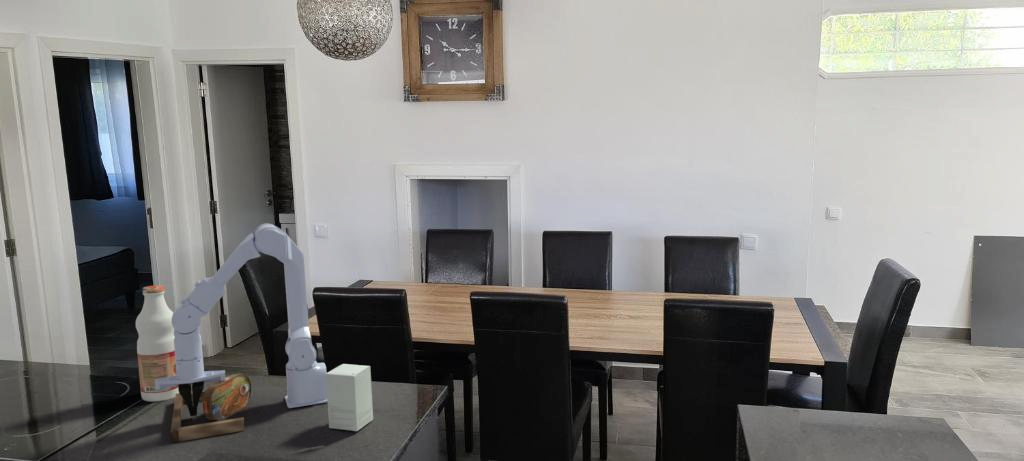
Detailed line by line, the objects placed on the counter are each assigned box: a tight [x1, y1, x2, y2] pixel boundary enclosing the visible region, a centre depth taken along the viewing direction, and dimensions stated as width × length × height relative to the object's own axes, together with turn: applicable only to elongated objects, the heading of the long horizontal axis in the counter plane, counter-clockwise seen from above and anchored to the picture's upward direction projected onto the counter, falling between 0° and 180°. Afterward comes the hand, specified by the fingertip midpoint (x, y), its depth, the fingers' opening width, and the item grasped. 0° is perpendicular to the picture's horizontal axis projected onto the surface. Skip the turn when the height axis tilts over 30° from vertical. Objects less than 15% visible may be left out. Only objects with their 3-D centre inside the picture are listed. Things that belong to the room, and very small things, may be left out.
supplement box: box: [326, 363, 374, 432], centre depth 155 cm, size 7×7×13 cm
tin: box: [201, 373, 252, 421], centre depth 163 cm, size 15×3×8 cm, turn 166°
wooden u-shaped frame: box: [170, 388, 246, 444], centre depth 162 cm, size 14×25×2 cm, turn 23°
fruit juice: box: [135, 284, 179, 402], centre depth 174 cm, size 9×9×28 cm
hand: (193, 414), depth 161 cm, fingers closed
